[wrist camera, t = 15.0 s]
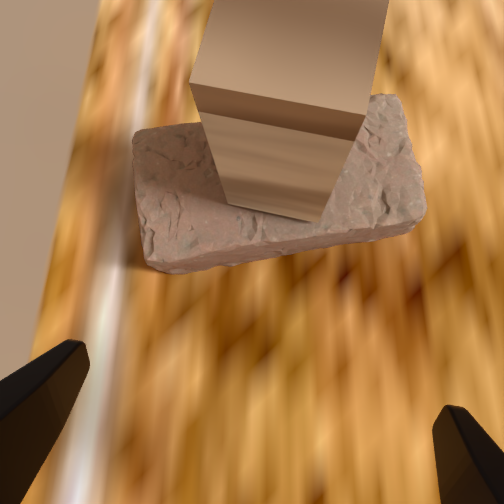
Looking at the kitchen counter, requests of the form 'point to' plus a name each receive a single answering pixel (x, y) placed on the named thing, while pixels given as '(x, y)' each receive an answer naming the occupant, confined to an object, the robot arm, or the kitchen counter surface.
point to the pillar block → (285, 96)
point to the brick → (264, 223)
